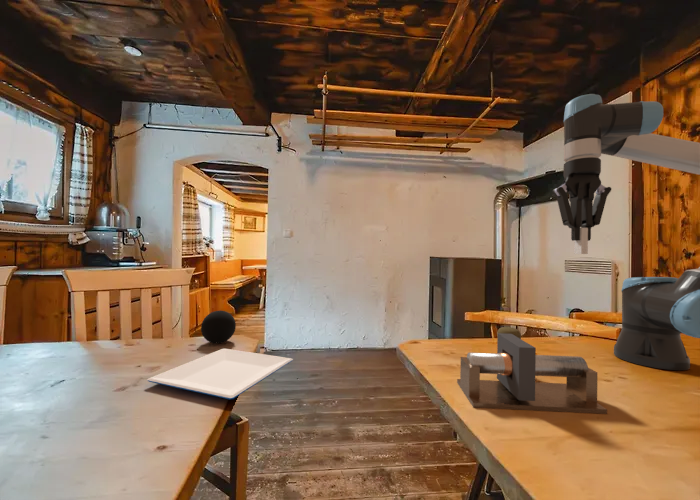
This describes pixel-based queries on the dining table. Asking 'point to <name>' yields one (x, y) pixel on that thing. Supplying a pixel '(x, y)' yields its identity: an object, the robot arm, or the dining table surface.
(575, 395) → the pipe rig
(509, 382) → the collar
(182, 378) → the plate
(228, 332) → the decorative ball
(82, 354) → the dining table surface
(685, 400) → the dining table surface
